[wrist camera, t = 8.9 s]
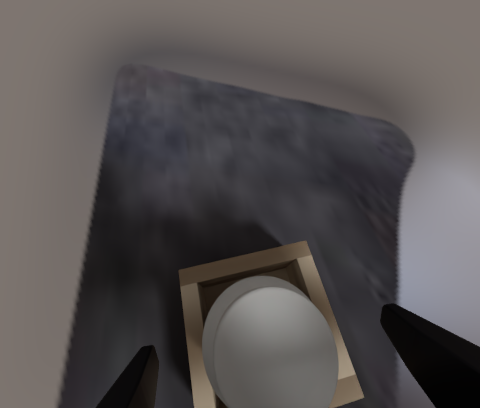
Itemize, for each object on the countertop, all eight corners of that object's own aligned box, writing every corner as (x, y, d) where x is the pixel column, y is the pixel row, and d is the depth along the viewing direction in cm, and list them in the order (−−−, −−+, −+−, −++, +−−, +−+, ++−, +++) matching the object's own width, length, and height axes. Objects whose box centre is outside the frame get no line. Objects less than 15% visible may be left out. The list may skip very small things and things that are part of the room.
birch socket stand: (332, 376, 15) (364, 397, 11) (208, 416, 14) (199, 452, 10) (291, 254, 19) (306, 240, 15) (189, 278, 18) (178, 269, 14)
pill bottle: (203, 360, 15) (158, 434, 6) (226, 279, 17) (219, 246, 8) (282, 387, 14) (361, 510, 6) (296, 299, 17) (367, 287, 8)
